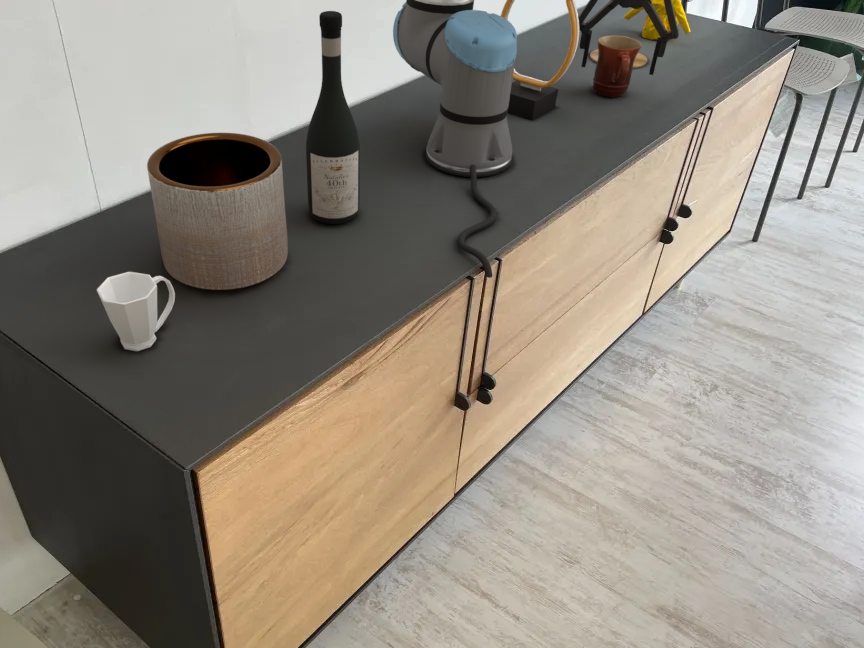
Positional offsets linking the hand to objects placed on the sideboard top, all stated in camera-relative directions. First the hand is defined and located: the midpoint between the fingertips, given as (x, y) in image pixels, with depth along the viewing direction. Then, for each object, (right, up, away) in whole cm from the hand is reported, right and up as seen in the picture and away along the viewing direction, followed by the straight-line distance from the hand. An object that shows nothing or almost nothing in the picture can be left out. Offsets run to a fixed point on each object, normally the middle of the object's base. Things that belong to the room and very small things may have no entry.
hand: (617, 68), depth 161 cm
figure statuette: (+20, +21, +34) cm, 45 cm away
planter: (-71, -47, -48) cm, 98 cm away
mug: (0, -4, +4) cm, 6 cm away
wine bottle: (-57, -38, -37) cm, 77 cm away
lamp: (-19, -9, -2) cm, 22 cm away
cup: (-79, -58, -61) cm, 116 cm away
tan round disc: (+7, +11, +21) cm, 24 cm away
